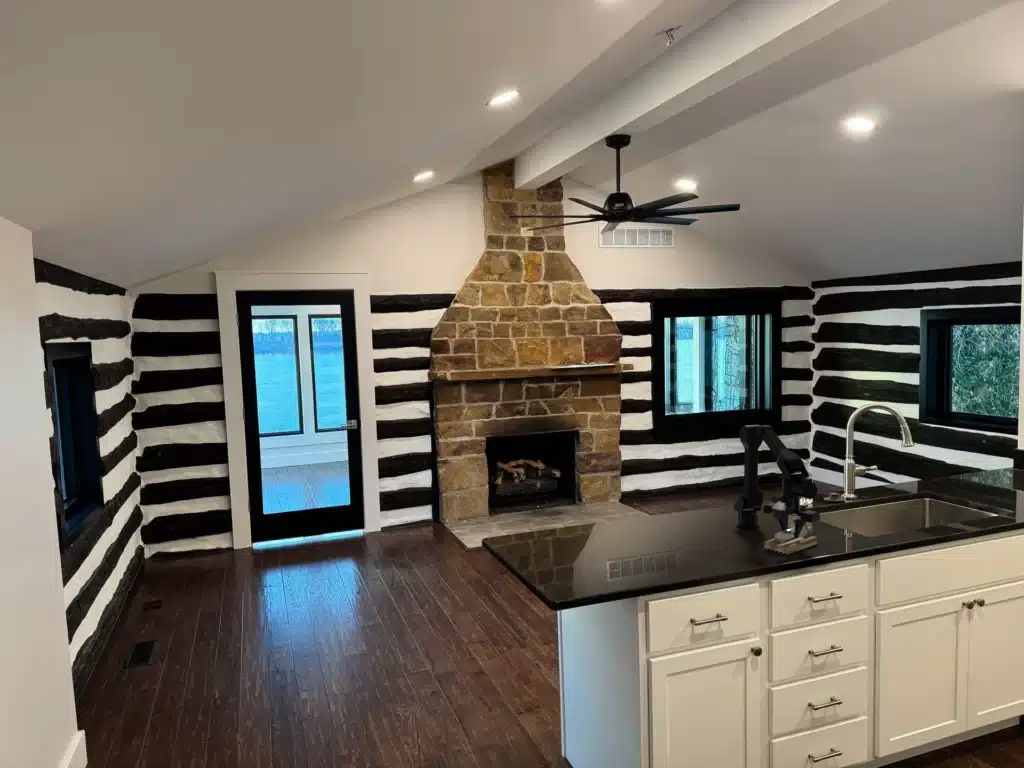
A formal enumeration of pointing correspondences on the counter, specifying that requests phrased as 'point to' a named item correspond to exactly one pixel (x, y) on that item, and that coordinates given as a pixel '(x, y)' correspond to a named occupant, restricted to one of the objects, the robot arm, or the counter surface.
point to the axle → (788, 535)
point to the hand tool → (776, 499)
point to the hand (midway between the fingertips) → (790, 536)
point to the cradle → (791, 544)
